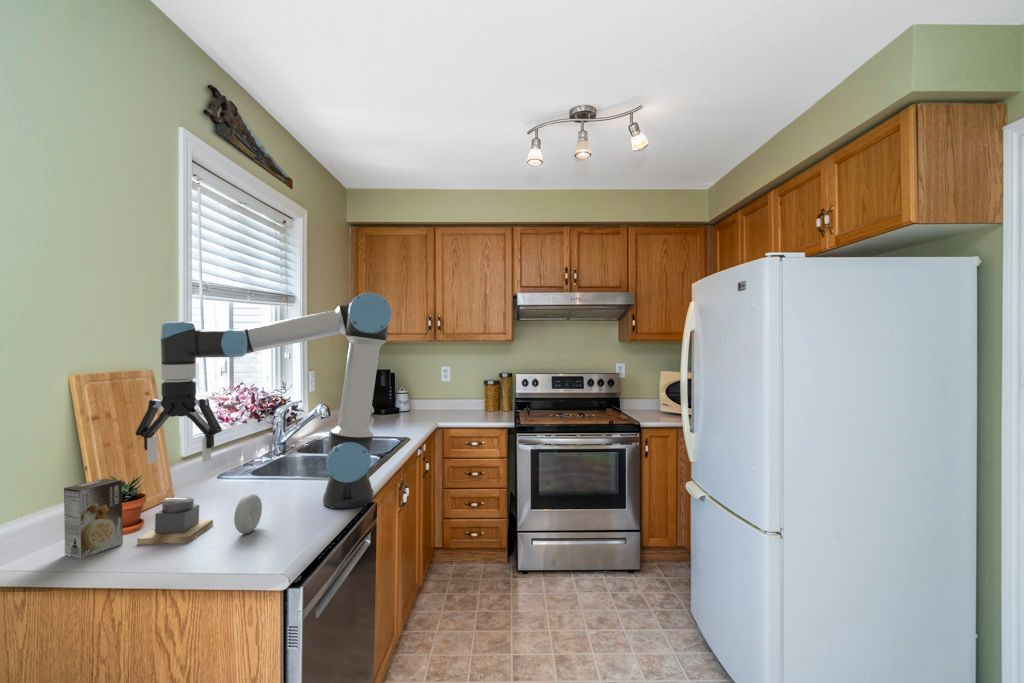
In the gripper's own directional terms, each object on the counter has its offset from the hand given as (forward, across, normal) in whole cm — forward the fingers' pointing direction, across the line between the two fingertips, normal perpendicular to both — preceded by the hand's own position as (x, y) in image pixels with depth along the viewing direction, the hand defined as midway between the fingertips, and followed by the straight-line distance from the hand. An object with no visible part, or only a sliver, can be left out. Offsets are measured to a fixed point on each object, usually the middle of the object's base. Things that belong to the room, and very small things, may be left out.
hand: (179, 461), depth 130 cm
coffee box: (+19, +14, +9) cm, 26 cm away
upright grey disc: (+19, -18, +1) cm, 26 cm away
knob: (+17, 0, +1) cm, 17 cm away
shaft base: (+19, 0, +1) cm, 19 cm away
